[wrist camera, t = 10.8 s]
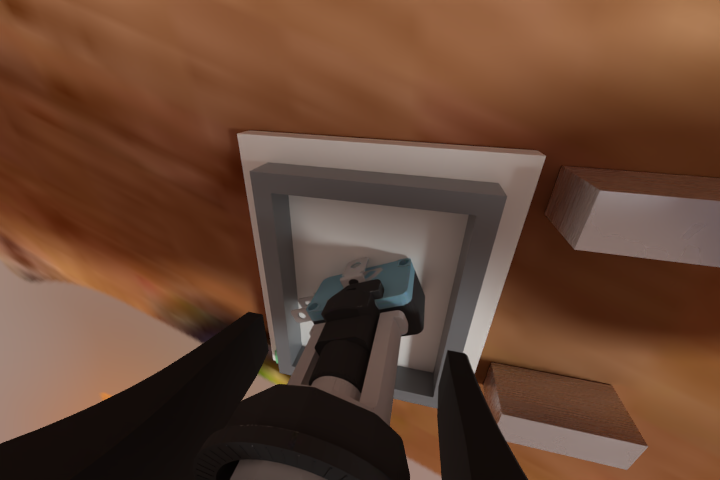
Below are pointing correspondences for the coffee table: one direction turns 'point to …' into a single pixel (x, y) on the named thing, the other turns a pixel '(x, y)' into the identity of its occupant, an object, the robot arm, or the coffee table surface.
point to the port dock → (387, 234)
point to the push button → (330, 389)
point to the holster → (612, 236)
